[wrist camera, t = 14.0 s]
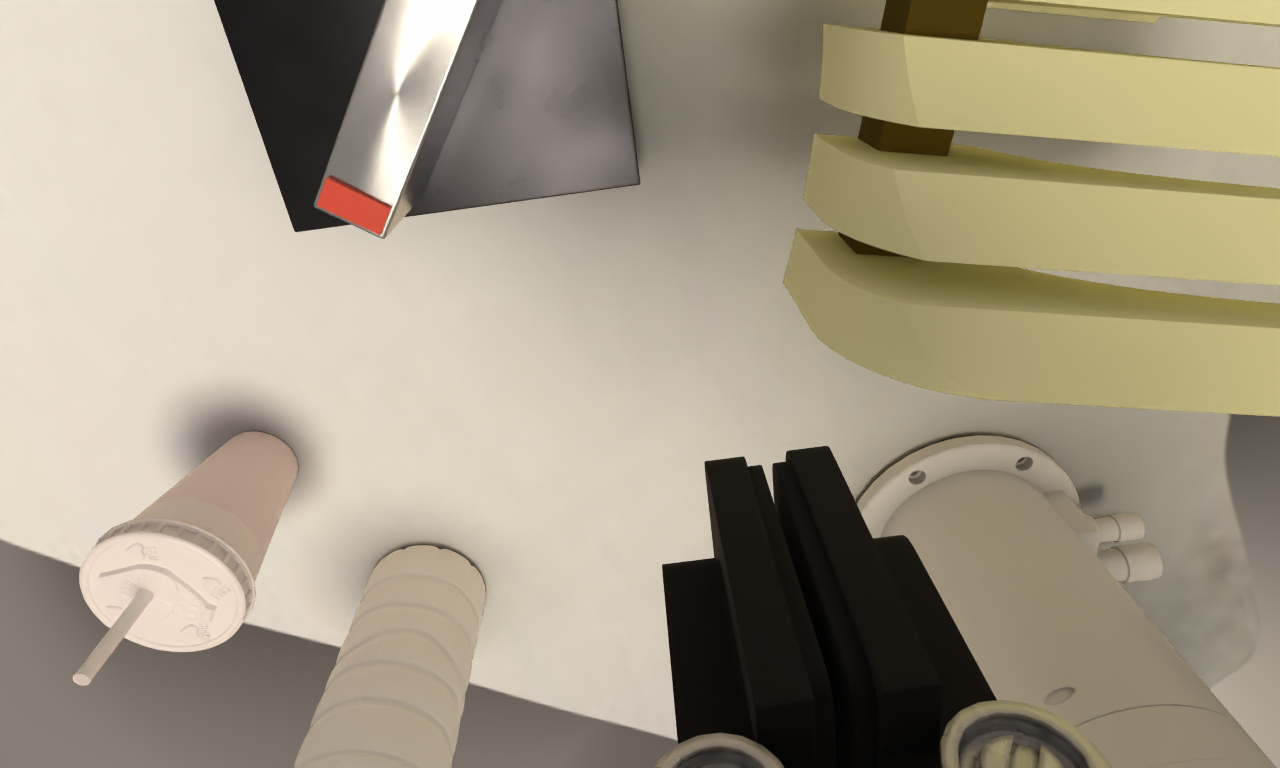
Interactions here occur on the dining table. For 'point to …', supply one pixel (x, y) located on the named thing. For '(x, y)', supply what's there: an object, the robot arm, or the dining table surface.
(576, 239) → the dining table surface
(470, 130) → the plate
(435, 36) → the silver metal block
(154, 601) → the smoothie
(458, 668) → the water bottle
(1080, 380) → the slatted curved stool
